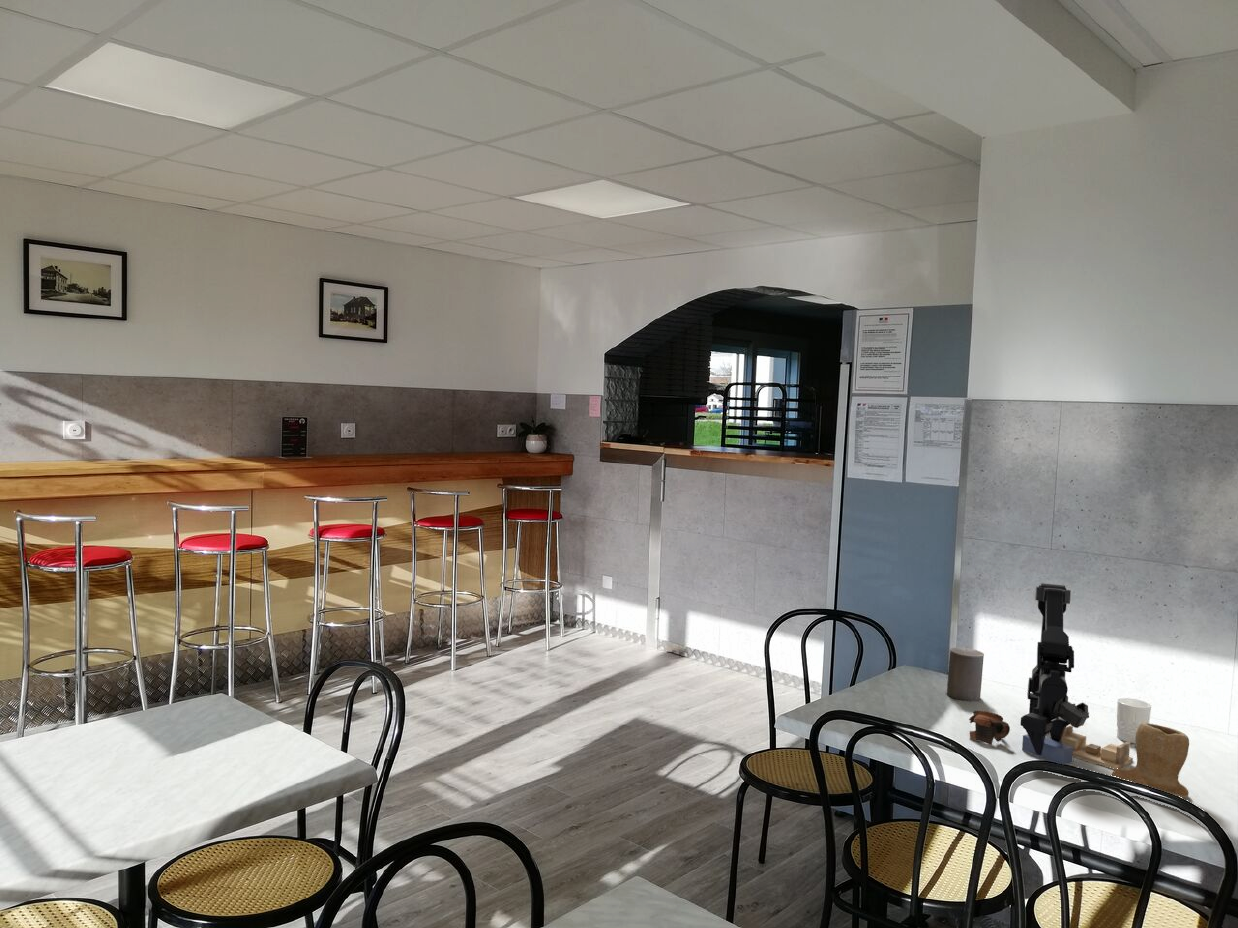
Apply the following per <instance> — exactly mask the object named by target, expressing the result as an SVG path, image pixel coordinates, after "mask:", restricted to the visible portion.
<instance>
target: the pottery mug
mask: <svg viewBox="0 0 1238 928" xmlns="http://www.w3.org/2000/svg"><path fill="white" fill-rule="evenodd" d="M968 721H969V723H970V724H972V723H974V725H975V730H970V731H969V740H971V741H979V742H982V743H986V744H989V745H992V744H993V741H994V739H995V741H996V742H1001V741H1002V739H1005V738H1006V737H1007V736H1009V733H1010V731H1011V729H1010V728H1011V727H1010V725H1009V723H1007V722H1005V721H1004V718H1003V716H1001V714H998V713H995V712H992V711H986V710H973V715H971V716H970V717H969V719H968Z"/></svg>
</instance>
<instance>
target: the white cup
mask: <svg viewBox="0 0 1238 928" xmlns="http://www.w3.org/2000/svg"><path fill="white" fill-rule="evenodd" d="M1116 703H1117V704H1116V705H1117V707H1116V708H1117V709H1116V726H1117V729H1116V732H1117V733H1116V737H1117V739H1119V740H1120V741H1123V742H1129V743H1130V744H1135V745H1136V743H1135V738H1136V732H1137V730H1138V728H1139V726H1140V724H1142V723H1150V718H1151V713H1152V712H1151V711H1152V704H1151V703H1149V702H1147V701H1144V700H1141V699H1137V698H1131V697H1130V698H1129V697H1122V698H1121V697H1120V698H1117V702H1116Z"/></svg>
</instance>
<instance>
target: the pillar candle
mask: <svg viewBox="0 0 1238 928" xmlns="http://www.w3.org/2000/svg"><path fill="white" fill-rule="evenodd" d="M984 656H985V654H984V652H982V651H980V650H977V649H973V648H969V647H967V646H965V647H951V648H950V649H949V658H948V659H949V660H948V670H947V671H948V672H947V673H948V674H947V681H946V682H947V683H946V686H947V687H946V693H945V694H946V695H947V696H948V697H950V698H952V699H956V700H959V701H965V702H976V701H979V700H980V699H981V696H982V695H981V694H982V693H981V692H982V681H983V680H982V679H983V669H984V658H985V657H984Z"/></svg>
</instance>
